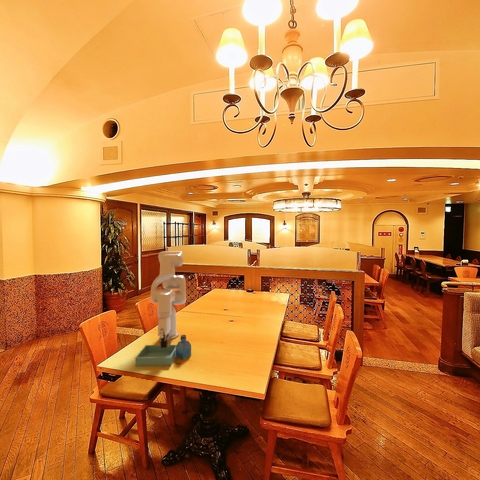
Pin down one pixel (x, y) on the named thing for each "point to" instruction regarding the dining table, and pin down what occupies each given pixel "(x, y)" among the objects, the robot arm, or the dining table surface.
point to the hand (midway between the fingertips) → (165, 344)
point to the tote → (156, 356)
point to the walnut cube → (167, 341)
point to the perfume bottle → (183, 348)
